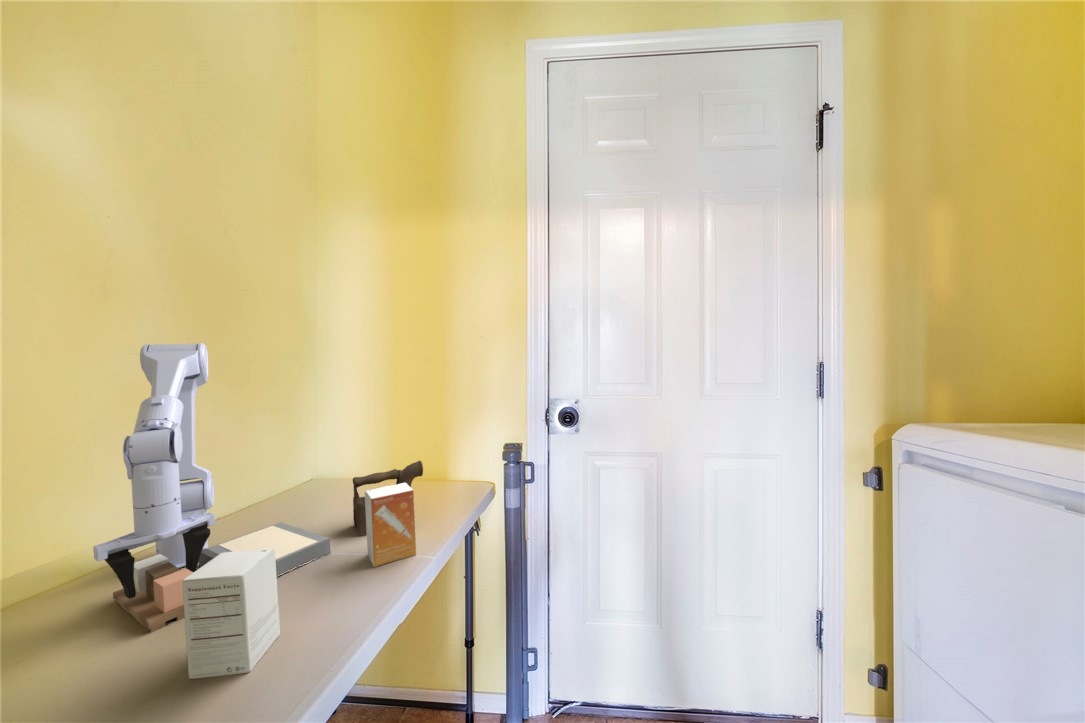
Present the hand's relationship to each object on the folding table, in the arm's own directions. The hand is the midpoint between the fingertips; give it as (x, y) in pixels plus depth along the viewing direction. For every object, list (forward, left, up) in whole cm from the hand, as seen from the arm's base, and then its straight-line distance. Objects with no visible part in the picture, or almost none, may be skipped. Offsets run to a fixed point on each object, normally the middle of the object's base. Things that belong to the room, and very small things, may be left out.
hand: (162, 583), depth 67 cm
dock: (0, +16, -3) cm, 16 cm away
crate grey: (-6, 0, -2) cm, 6 cm away
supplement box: (+26, 0, -3) cm, 26 cm away
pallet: (0, 0, -3) cm, 3 cm away
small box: (+22, +28, -3) cm, 36 cm away
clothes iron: (+8, +38, -3) cm, 39 cm away
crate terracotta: (+6, 0, -2) cm, 6 cm away
